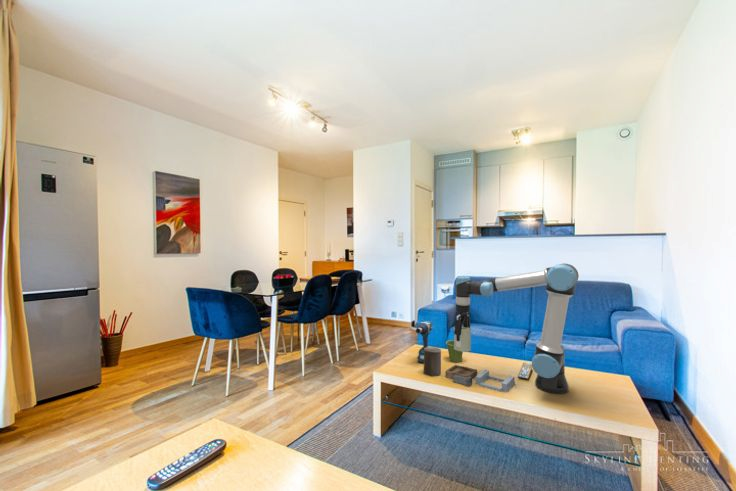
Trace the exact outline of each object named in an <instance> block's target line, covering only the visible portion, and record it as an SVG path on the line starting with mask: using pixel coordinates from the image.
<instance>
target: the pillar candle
mask: <svg viewBox="0 0 736 491" xmlns="http://www.w3.org/2000/svg"><path fill="white" fill-rule="evenodd" d="M423 374H424V375H426V376H429V377H439V376H440V375H442V349H441V348H439V347H434V346H428V347H426V348H424V363H423Z"/></svg>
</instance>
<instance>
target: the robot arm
mask: <svg viewBox="0 0 736 491" xmlns="http://www.w3.org/2000/svg"><path fill="white" fill-rule="evenodd" d="M455 278H456V280H455V281H456V282H455V303H456V304H455V311H456V312H457V315H455V317H454V318H455V320H454V327H455V330H454V329H453V331H454V332H453V335H454V334H455V335H456V346H457V347H461V330H462V327H468V328H471V319H470V314H471V313H470V312H471V306H470V304H471V295H475V296H483V297H491V296H493V293H496V292H502V291H503V292H504V291H510V290H517V289H518V290H519V289H526V288H534V287H535V288H536V287H542V286H545V291H546V293H547V294H548V296H547V297H548V298H547V302H546V308H545V314H544V319H543V325H542V329H541V330H542V331H541V337H540V341H539V342H537V343H536V345H535V351H534V356H533V357H532V359H531V367H532V369H533V371H534V372H535V373H536V374H537V375H536V377H535V381H534V386H535V387H536V388H537V389H539V390H541V391H543V392H546V393H550V394H558V395H559V394H560V395H562V394H566V393H568V392H569V390H570V389H569V383H568V381H567V378H566V374H565V368H566V367H565V352H566V350H565V345H564V344H562V342H563V341H562V339H563V336H564V335H563V334H564V328H565V325H566V318H567V312H568V307H569V301H570V298H572V297H573V296H574V295H575V289H576V286H577V285H576V284H577V282H578V280H579V272H578V269H576V267H575V266H573V265H572V264H569V263H559V264H555V265H553V266H550V267H545V268H544V270H538V271H532V272H525V273H519V274H513V275H509V276H508V275H507V276H500V277H495V278H487V279H485V280H480V281H478V280H471V277H470V276H463V275H460V276H457V277H455Z"/></svg>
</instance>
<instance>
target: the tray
mask: <svg viewBox="0 0 736 491" xmlns="http://www.w3.org/2000/svg"><path fill="white" fill-rule="evenodd" d="M455 374H456V375H460V376H464V377H469V376H470V377H472V379H473V380H474V379H475V376H477V375H478V369H477V368H471V367H467V366H464V365H459V364H454V365H452V366H451V367H449V368H448V369H446V370H445V378H447V379H450V380H453V376H454V375H455Z"/></svg>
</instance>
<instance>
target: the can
mask: <svg viewBox="0 0 736 491" xmlns="http://www.w3.org/2000/svg"><path fill="white" fill-rule="evenodd" d="M454 330H455V326H454V328H453V331H454ZM471 337H472V329H471V327H470V328H468V327H463V326H462V330H461V347H457V346H456V335H455V334H454V333H453V339H454V349H455V350H457V351H462V352H463V353H464V352H470V351H472V349H471V348H472V347H471V346H472V343H471V342H472V338H471Z"/></svg>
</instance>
